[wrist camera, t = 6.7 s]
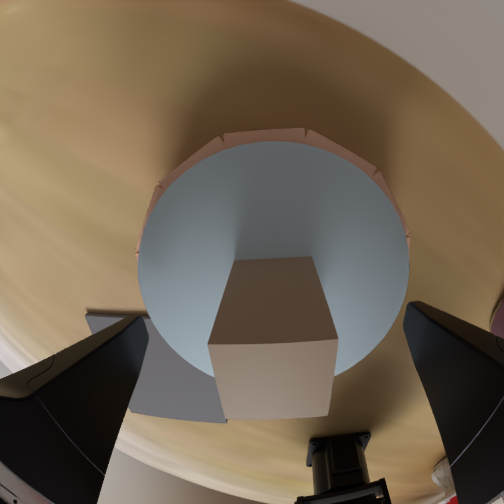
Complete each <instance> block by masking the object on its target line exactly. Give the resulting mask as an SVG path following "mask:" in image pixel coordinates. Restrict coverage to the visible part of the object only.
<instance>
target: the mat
mask: <svg viewBox="0 0 504 504" xmlns="http://www.w3.org/2000/svg"><path fill="white" fill-rule="evenodd" d="M128 316H130V315H111V314H93V313H87V314H86V315H85V317H86V320H87V322H88V325H89V327H90V330H91V332H92V335H93V334H95V333H97V332H99V331H101V330H103V329H104V328H106V327H108V326H110V325H112V324H114V323H116V322H118V321H120V320H122V319H124V318H126V317H128ZM142 317H143V318H144V321H145V324H146V328H147V331H148V334H149V342H148V346H147V350H146V353H145V357H144V361H143V365H142V368H141V372H140V375H139V378H138V381H137V384H136V386H135V389H134V392H133V394H132V397H131V400H130V402H129V405H128V407H129V409H130V411H131V412H132V413H138V414H143V415H149V416H156V417H162V418H170V419H178V420H187V421H198V422H211V423H227V419H225V415H224V411H223V408H222V404H221V400H220V396H219V392H218V388H217V384H216V380H215V377H213V376H210V375H208V374H206V373H204V372H203V371H201V370H199V369H198V368H196V367H194V366H193V365H191V364H190V363H189V362H187V361H186V360H185V359H183V358H182V357H181V356H180V355H179V354H178V353H177V352H176V351H174V350H173V349H172V348H171V347H170V345H169V344H168V343H167V342H166V341H165V340H164V338H163V337H162V336H161V334H160V333H159V331H158V330H157V328H156V327H155V325H154V324H153V322H152V320H151V318H150V316H142Z"/></svg>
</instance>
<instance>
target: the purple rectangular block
mask: <svg viewBox="0 0 504 504" xmlns="http://www.w3.org/2000/svg"><path fill="white" fill-rule="evenodd" d="M490 333H492V334H494V335H495V336H496V335H497V336H499V337H501V338H503V339H504V297H503V298H502V299H501V300H500V302H499V303H498V305H497V307H496V309H495V311H494V313H493V315H492V318H491V322H490Z"/></svg>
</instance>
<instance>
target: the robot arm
mask: <svg viewBox="0 0 504 504" xmlns="http://www.w3.org/2000/svg"><path fill="white" fill-rule="evenodd" d="M403 329H404V332H405V335H406V338H407V342H408V345H409V348H410V352H411V355H412V358H413V361H414V364H415V367H416V370H417V372H418V375H419V377H420V380H421V382H422V385H423V387H424V390H425V392H426V395H427V398H428V400H429V403H430V406H431V409H432V411H433V414H434V417H435V420H436V423H437V426H438V429H439V432H440V435H441V439H442V442H443V445H444V448H445V452H446V455H447V459H448V462H449V466H450V471H451V474H452V478H453V483H454V487H455V491H456V496H457V500H458V504H491V503H492V502H494V501H496V500H497V499H499V498H500V497H502V499H503V501H504V339H503V338H501V337H499V336H497V335H496V336H495V335H494V334H492V333H490V332H488V331H486V330H484V329H481V328H479V327H477V326H475V325H473V324H470V323H468V322H466V321H464V320H461V319H459V318H457V317H455V316H453V315H450V314H448V313H446V312H444V311H441V310H439V309H437V308H434V307H432V306H430V305H428V304H425V303H423V302H421V301H413V302H409V303H408V304H407V307H406V312H405V317H404V322H403ZM148 342H149V334H148V331H147V328H146V324H145V321H144V318H143V317H142V316H141V315H130V316H128V317H126V318H124V319H122V320H120V321H118V322H116V323H114V324H112V325H110V326H108V327H106V328H104V329H103V330H101V331H99V332H97V333H95V334H93V335H91V336H89V337H87V338H85V339H83V340H81V341H79V342H77V343H75V344H73V345H71V346H70V347H68V348H66V349H64V350H62V351H60V352H58V353H56V354H54V355H52V356H50V357H48V358H46V359H44V360H42V361H40V362H38V363H36V364H34V365H31V366H29V367H27V368H25V369H22V370H20V371H18V372H15V373H13V374H11V375H9V376H6V377H4V378H1V379H0V504H97V502H98V498H99V495H100V491H101V488H102V484H103V481H104V478H105V476H104V475H105V474H106V470H107V467H108V464H109V461H110V458H111V455H112V451H113V448H114V445H115V442H116V439H117V436H118V433H119V431H120V428H121V425H122V422H123V419H124V416H125V413H126V411H127V408H128V405H129V402H130V400H131V397H132V394H133V392H134V389H135V386H136V384H137V381H138V378H139V375H140V372H141V368H142V365H143V361H144V357H145V353H146V350H147V346H148ZM370 437H371V433H370V432H363V433H357V434H351V435H344V436H337V437H328V438H319V439H312V440H310V441H309V447H308V454H307V461H306V466H307V467H312V470H313V485H314V495H312V496H305V497H303V496H300V497H297V501H296V502H294V504H391V500H390V496H389V492H388V489H387V485H386V481H385V478H382V479H379V480H378V481H374V482H371V483H370V479H369V474H368V469H367V464H366V459H365V454H364V451H365V449H366V446H367V444H368V442H369V440H370ZM377 496H379V498H376V497H377Z"/></svg>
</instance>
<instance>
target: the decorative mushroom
mask: <svg viewBox="0 0 504 504" xmlns="http://www.w3.org/2000/svg"><path fill="white" fill-rule="evenodd" d="M431 477H432V480H433V481H434V482H435V483H436V484H437V485H439V486H440V487H441V488H442V489H443V490H444V491H445V496H444V497H442V498H441V499H439V500H437V501H436V502H434V503H433V504H458V500H457V496H456V491H455V487H454V483H453V478H452V474H451V471H450V466H449V462H448V459H447V457H446V458H445V459H443V460H442V461H440V462H439V463H438V464H437V465H436V466H435V468H434V470H433V473H432V476H431Z"/></svg>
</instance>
